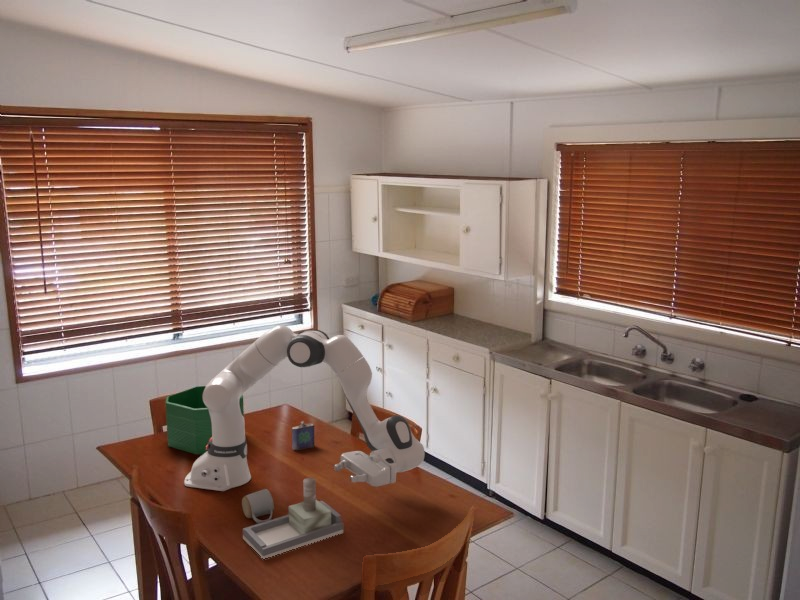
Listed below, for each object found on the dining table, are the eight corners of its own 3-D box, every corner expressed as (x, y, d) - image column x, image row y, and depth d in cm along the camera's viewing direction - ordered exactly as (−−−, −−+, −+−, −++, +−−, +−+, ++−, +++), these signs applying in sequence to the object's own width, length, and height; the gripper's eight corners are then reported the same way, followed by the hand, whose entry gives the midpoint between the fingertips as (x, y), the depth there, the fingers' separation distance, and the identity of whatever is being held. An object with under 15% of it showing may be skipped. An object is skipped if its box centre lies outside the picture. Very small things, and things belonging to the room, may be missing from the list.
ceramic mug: (240, 513, 221) (240, 491, 219) (264, 506, 225) (264, 484, 224) (254, 528, 212) (253, 505, 211) (278, 520, 217) (278, 498, 215)
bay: (263, 560, 195) (262, 543, 194) (242, 538, 206) (242, 522, 205) (343, 532, 210) (343, 517, 209) (320, 514, 221) (320, 498, 220)
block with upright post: (304, 537, 204) (303, 490, 201) (289, 523, 212) (288, 478, 209) (331, 528, 209) (330, 482, 206) (315, 514, 217) (314, 471, 214)
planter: (207, 423, 298) (205, 382, 294) (253, 435, 285) (252, 393, 281) (158, 443, 276) (156, 399, 272) (206, 457, 263) (204, 411, 259)
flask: (293, 451, 269) (293, 424, 268) (290, 448, 272) (290, 422, 270) (315, 446, 274) (315, 420, 272) (312, 444, 277) (312, 418, 275)
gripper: (363, 443, 231) (326, 452, 223) (398, 465, 214) (360, 476, 206) (362, 461, 232) (326, 470, 224) (398, 484, 215) (360, 495, 208)
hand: (343, 473), depth 215 cm, fingers open, 8 cm apart
